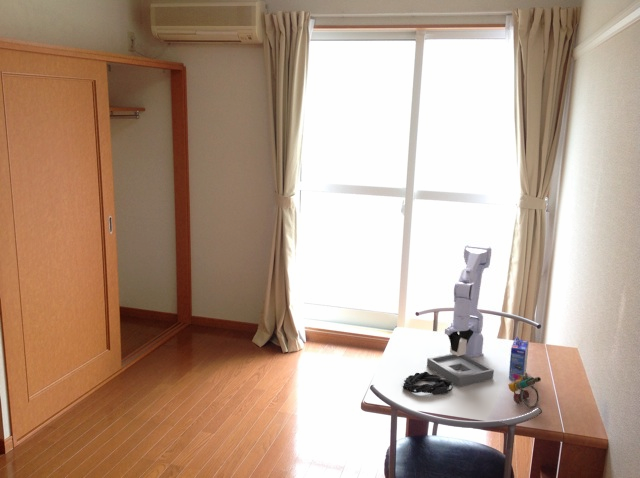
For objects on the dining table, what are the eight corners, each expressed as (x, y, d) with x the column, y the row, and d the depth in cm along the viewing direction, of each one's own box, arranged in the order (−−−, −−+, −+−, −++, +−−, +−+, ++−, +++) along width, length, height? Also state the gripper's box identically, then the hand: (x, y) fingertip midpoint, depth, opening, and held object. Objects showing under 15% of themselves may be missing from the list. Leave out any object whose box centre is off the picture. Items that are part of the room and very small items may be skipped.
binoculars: (530, 403, 194) (518, 375, 196) (553, 399, 188) (541, 369, 190) (516, 412, 188) (504, 382, 190) (539, 407, 182) (526, 377, 184)
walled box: (459, 360, 223) (460, 351, 222) (492, 379, 207) (493, 370, 207) (426, 366, 216) (427, 358, 215) (458, 387, 200) (459, 377, 199)
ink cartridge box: (510, 368, 217) (514, 332, 214) (526, 371, 215) (530, 335, 212) (507, 378, 208) (511, 341, 205) (523, 382, 206) (527, 344, 203)
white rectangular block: (457, 350, 213) (458, 336, 212) (465, 353, 210) (466, 339, 209) (449, 352, 211) (451, 338, 210) (458, 356, 208) (459, 341, 207)
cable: (409, 399, 191) (410, 387, 190) (394, 380, 204) (395, 369, 203) (456, 395, 195) (457, 383, 194) (438, 377, 208) (439, 366, 207)
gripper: (466, 308, 215) (463, 342, 218) (439, 314, 206) (436, 349, 209) (481, 313, 209) (478, 348, 212) (454, 320, 201) (451, 356, 204)
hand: (458, 349), depth 210 cm, fingers closed on white rectangular block, 4 cm apart
